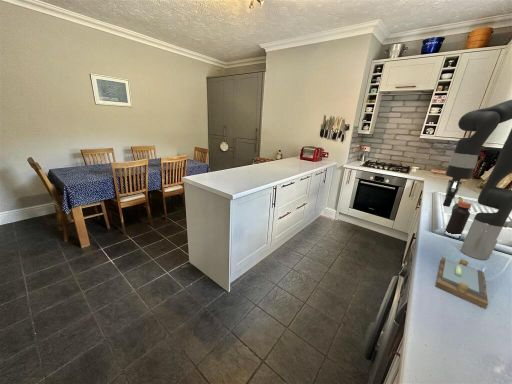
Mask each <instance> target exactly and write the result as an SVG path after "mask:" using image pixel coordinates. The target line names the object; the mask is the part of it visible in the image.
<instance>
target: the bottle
mask: <svg viewBox="0 0 512 384" xmlns="http://www.w3.org/2000/svg"><path fill="white" fill-rule="evenodd" d="M458 201H459V200H458ZM457 203H458V202H457ZM471 207H472V203H470V202H466V201H464V200H463V201H459V203H458V208H456V209H454V210H453V212H452V211H451V214H450V218H449V220H448V222H447V224H446V227H445V230H446V231H447V232H448V233H451V234H461V235H462V234H463V232H464V230H465V227H466V225H467V222H468V221H469V218H470V215H471V212H470V211H469V210H470V209H471ZM445 230H444V231H445Z"/></svg>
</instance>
